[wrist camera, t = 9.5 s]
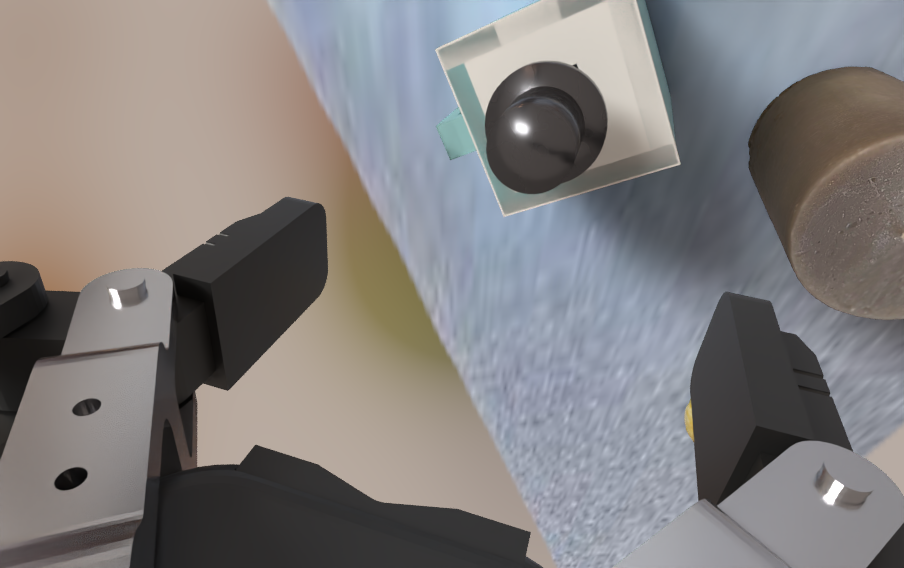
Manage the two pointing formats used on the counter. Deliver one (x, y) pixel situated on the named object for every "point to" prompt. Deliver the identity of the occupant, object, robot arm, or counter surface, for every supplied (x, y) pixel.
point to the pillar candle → (838, 186)
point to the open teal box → (596, 54)
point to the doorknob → (544, 126)
